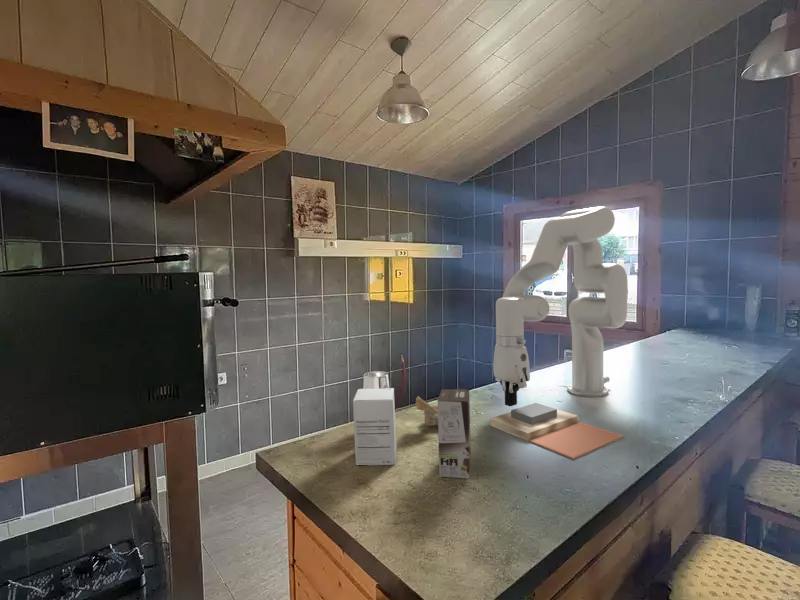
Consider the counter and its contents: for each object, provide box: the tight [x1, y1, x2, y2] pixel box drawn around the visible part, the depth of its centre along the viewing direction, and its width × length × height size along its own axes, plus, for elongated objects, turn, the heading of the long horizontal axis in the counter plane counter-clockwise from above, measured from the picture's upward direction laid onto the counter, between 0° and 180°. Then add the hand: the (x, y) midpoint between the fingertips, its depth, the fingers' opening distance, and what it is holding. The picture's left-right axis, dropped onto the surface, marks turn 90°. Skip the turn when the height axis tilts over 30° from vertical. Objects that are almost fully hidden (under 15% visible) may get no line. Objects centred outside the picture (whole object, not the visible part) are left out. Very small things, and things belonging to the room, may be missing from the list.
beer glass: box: [363, 370, 390, 389], centre depth 114 cm, size 7×7×15 cm
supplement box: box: [352, 387, 397, 467], centre depth 97 cm, size 9×9×15 cm
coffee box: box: [437, 388, 472, 480], centre depth 90 cm, size 9×6×16 cm
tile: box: [510, 402, 558, 425], centre depth 114 cm, size 10×7×2 cm
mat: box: [529, 421, 625, 460], centre depth 103 cm, size 20×12×1 cm, turn 123°
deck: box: [489, 403, 579, 442], centre depth 114 cm, size 20×13×2 cm, turn 123°
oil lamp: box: [415, 395, 438, 427], centre depth 118 cm, size 9×21×10 cm, turn 138°
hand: (510, 404), depth 121 cm, fingers closed
